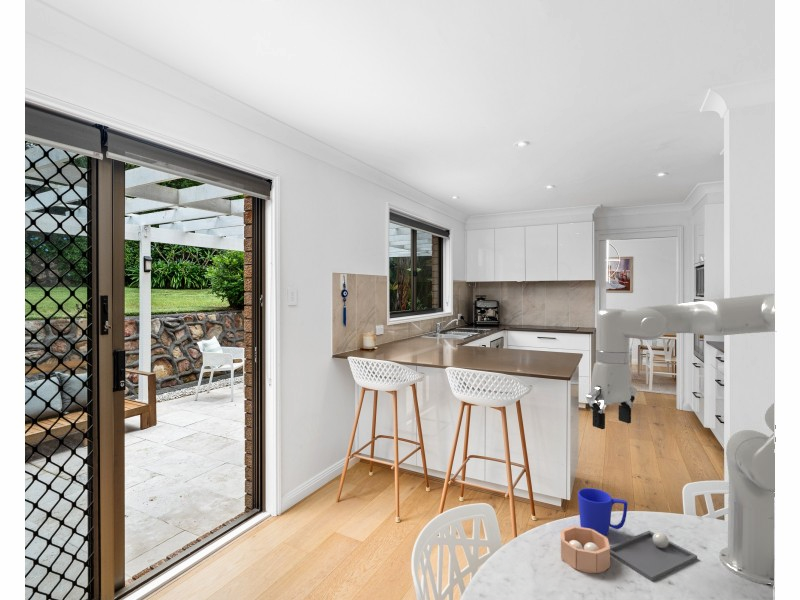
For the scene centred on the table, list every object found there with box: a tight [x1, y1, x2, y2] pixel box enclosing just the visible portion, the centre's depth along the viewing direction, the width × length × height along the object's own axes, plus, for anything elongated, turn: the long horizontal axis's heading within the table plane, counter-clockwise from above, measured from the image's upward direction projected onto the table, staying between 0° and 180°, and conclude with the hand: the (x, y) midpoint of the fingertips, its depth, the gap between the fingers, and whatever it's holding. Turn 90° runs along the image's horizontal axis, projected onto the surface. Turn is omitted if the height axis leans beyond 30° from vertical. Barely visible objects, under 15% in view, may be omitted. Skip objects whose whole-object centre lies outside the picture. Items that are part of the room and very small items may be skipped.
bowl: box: [560, 525, 611, 574], centre depth 104 cm, size 11×11×5 cm
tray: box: [609, 530, 698, 582], centre depth 105 cm, size 17×12×1 cm
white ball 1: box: [569, 540, 583, 549], centre depth 105 cm, size 4×4×4 cm
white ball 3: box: [652, 531, 670, 548], centre depth 108 cm, size 4×4×4 cm
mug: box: [577, 487, 628, 537], centre depth 115 cm, size 8×12×10 cm
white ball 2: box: [584, 542, 599, 551], centre depth 104 cm, size 4×4×4 cm
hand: (611, 424), depth 110 cm, fingers open, 9 cm apart
